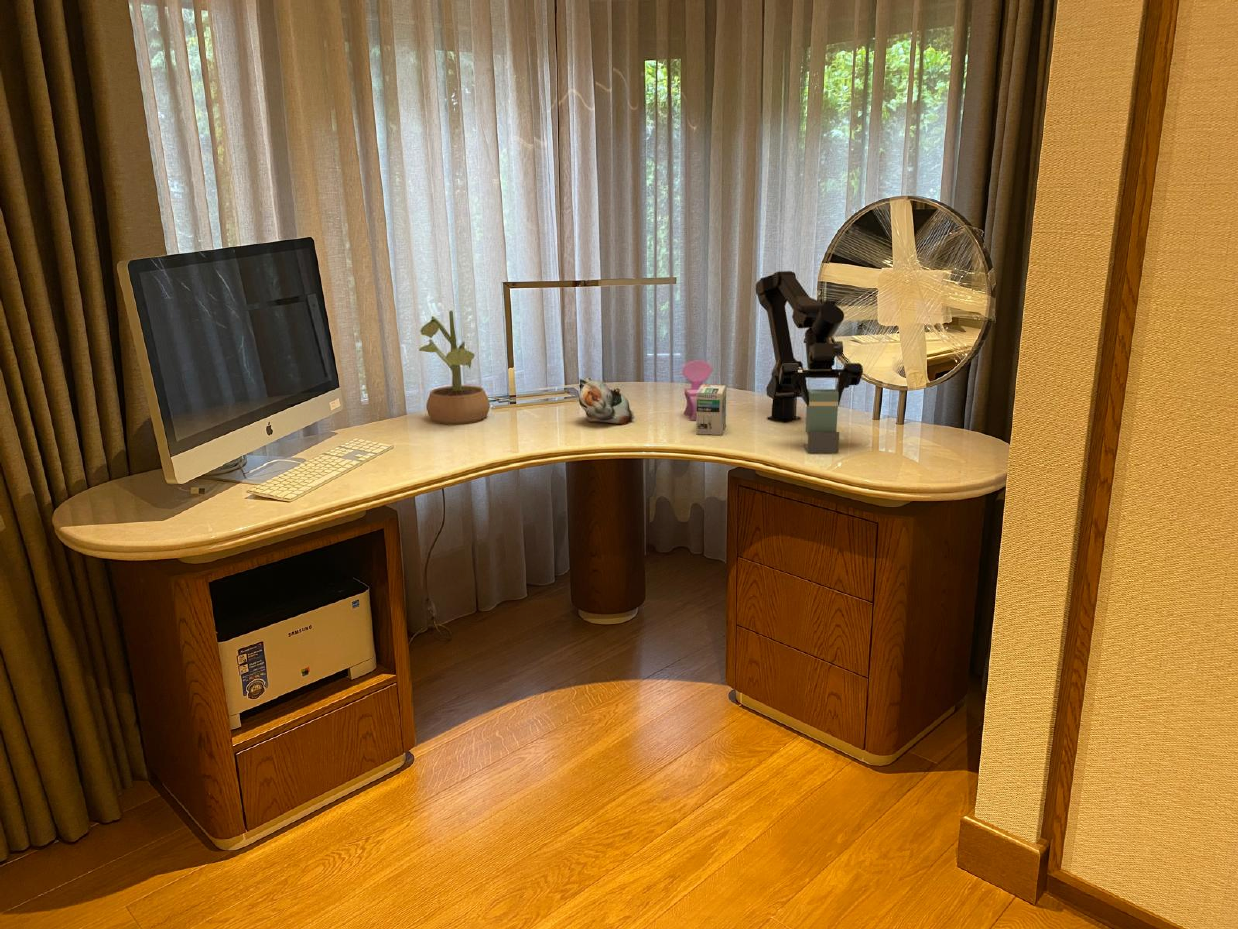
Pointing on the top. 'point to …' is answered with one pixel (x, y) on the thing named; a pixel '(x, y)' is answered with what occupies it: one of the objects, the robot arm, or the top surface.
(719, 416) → the light bulb box
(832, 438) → the bookend
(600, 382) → the lucky cat figurine
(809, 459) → the top surface
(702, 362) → the toy chair
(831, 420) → the green striped box
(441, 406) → the potted plant
